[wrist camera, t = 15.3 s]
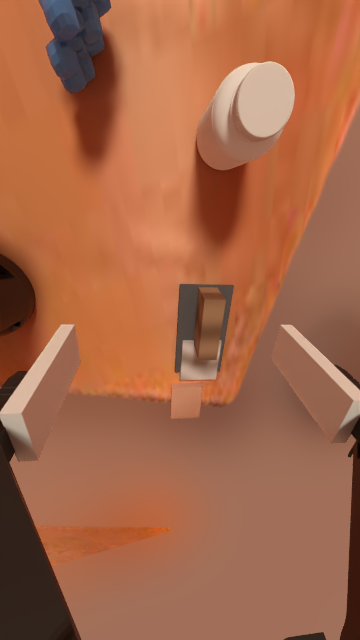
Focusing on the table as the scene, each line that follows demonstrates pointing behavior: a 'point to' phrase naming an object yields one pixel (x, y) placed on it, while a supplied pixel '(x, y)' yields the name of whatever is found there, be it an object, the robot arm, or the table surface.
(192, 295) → the mat
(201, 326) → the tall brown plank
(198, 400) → the tile
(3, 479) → the robot arm
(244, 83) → the pill bottle
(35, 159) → the table surface
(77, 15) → the grapes
